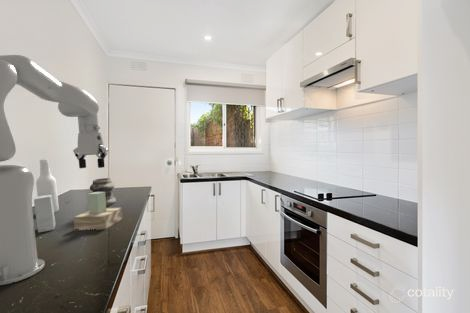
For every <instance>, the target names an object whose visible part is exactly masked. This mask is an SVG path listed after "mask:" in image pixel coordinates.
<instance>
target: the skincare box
mask: <svg viewBox="0 0 470 313" xmlns="http://www.w3.org/2000/svg"><path fill="white" fill-rule="evenodd" d="M33 205H34V211H35V212H34V213H35V221H36V228H37V232H38V233H42V232H48V231H54V230H55V228H56V224H57V223H56V216H55V213H54V208H53V201H52V195H45V196H36V197H34V198H33Z"/></svg>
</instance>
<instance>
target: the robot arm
mask: <svg viewBox="0 0 470 313" xmlns="http://www.w3.org/2000/svg"><path fill="white" fill-rule="evenodd" d="M16 85H18V86H20V87H21V88H24V90H27V91H28V92H30V93H32V94H33V95H35V96H36V97H38V98H39V99H41V100H44V101H47V102H52V103H53V102H54V103H57V109H58V111H59V113H60V114H61V115H63V116H65V117H68V118H77V122H78V124H77V126H78V134H77V147H76V148H74V149H73V150H72V151H73V153H74V156H75V157H76V159H77V160H78V167H79V169H86V168H87V161H86V156H96V157H97V168H98V169H102V168H105V159H106V157H107V155H108V152H109V148H108V147H106V146H104V140H103V137H102V133H101V132H99V131H100V130H101V127H100V126H99V119H98V113H99V109H100V108H99V107H100V106H99V104H98V102H97V100H96V99H95V98H94V96H92V95H91V94H90V93H89V92H87V91H86V90H84V89H82V88H80V87H78V86H75V85H72V84H69V83H67V82H64V81H61V80H58V79H56V78H55V77H54V76H53V75H52V74H50V73H49V72H47V71H46V70H45V69H44V68H43V67H41V66H40V65H38V64H37V63H36V62H34V61H33V60H32V59H31V58H29V57H27V56H24V55H20V54H7V55H6V54H5V55H0V163H1V162H6V161H9V160H11V159H12V158H13V157H14V156H15V154H16V144H15V141H14V137H13V134H12V132H11V128H10V126H9V123H8V120H7V117H6V113H5V110H4V109H5V108H4V105H5V101H6V99H7V96H8V95H9V93H10V92H11V91H12V90H13V88H15V86H16ZM34 183H35V178H34V175H33V173H32V171H31V170H29V169H28V168H26V167H24V166H23V165H22V166H21V165H16V164H7V165H6V164H4V165H3V164H2V165H1V164H0V286H4V285H10V284H13V282H14V283H17V282H19V281H24V280H25V279H27V278H30V277H32V276H34V275H36V274H38V273H39V272H40V271H42V270H43V269H44V268H45V266H46V262H45V260H44V259H41V258H38V251H37V250H38V249H37V240H36V231H35V222H34V215H33V214H34V212H33V211H34V210H33V191H34V185H35V184H34Z"/></svg>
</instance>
